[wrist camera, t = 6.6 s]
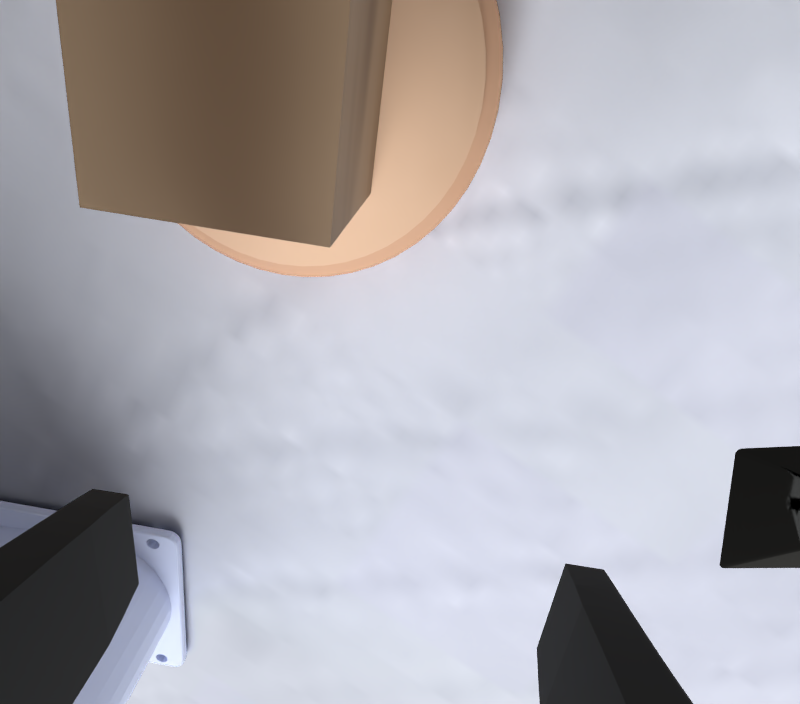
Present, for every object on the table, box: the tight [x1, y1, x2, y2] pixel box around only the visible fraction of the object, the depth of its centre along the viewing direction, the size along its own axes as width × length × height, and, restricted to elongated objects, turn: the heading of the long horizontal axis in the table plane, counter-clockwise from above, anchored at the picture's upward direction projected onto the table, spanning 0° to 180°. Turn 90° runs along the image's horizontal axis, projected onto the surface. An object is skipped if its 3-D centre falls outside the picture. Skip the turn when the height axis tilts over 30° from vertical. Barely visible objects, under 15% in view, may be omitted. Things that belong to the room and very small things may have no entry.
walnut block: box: [56, 0, 392, 248], centre depth 11 cm, size 4×4×5 cm
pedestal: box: [178, 0, 503, 277], centre depth 14 cm, size 10×10×2 cm
